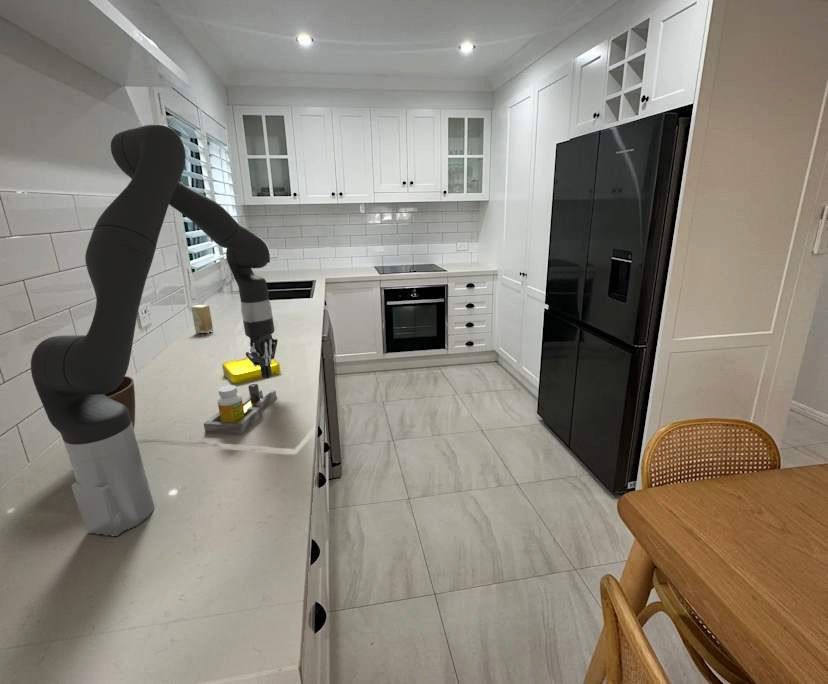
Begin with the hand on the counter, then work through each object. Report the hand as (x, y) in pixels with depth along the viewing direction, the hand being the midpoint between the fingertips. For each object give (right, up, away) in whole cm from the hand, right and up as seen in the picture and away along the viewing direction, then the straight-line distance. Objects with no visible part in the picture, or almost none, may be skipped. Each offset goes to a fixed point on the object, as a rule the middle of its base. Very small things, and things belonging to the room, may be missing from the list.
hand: (267, 377), depth 119 cm
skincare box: (-52, +14, +71) cm, 89 cm away
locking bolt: (-2, -8, -8) cm, 11 cm away
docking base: (-2, -9, -8) cm, 13 cm away
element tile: (-12, -1, +20) cm, 23 cm away
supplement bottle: (-3, -11, -14) cm, 18 cm away
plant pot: (-27, -16, -24) cm, 39 cm away
